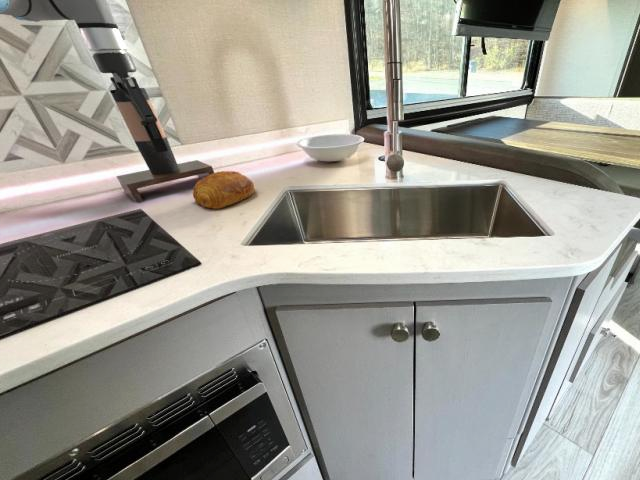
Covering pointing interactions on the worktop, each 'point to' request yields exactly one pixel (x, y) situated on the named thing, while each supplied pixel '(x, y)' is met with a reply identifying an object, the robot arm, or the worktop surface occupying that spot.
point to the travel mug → (145, 135)
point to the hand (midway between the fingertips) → (154, 148)
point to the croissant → (222, 189)
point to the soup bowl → (331, 146)
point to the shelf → (161, 177)
